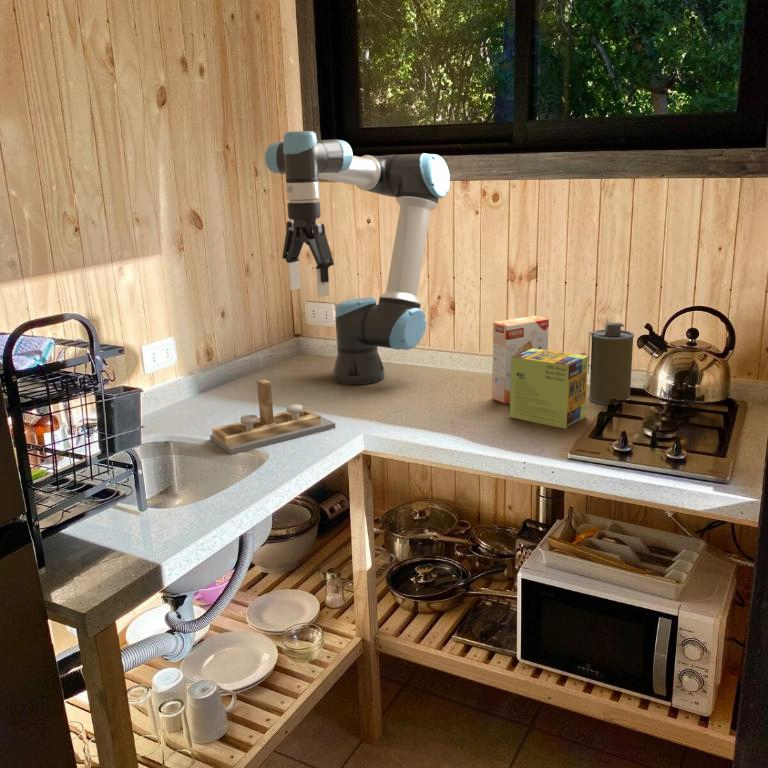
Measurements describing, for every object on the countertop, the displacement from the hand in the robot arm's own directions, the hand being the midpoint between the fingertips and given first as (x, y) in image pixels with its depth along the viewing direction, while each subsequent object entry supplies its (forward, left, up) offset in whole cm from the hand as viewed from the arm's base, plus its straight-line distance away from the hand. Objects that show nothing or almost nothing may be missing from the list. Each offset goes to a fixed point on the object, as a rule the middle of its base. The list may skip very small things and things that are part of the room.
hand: (309, 292), depth 190 cm
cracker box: (-50, +20, -32) cm, 63 cm away
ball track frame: (+15, +3, -31) cm, 34 cm away
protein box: (-44, +36, -32) cm, 65 cm away
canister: (-66, +36, -32) cm, 82 cm away
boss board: (+14, +3, -32) cm, 35 cm away
